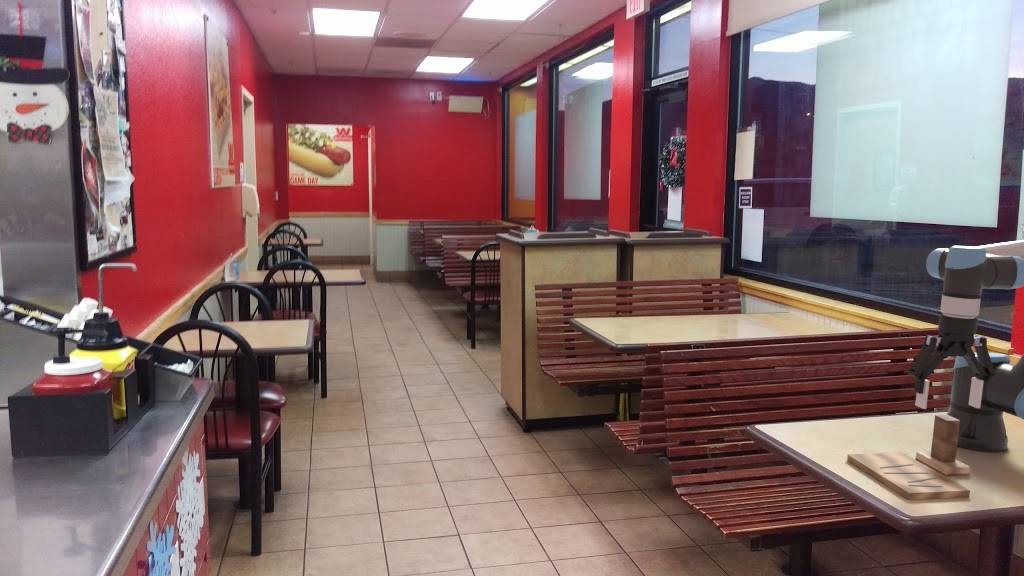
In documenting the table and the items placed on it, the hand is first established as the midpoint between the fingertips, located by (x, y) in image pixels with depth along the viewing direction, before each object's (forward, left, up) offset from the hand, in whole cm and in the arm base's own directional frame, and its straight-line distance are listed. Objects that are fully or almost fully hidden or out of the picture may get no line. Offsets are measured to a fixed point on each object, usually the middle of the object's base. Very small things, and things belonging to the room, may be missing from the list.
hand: (947, 407), depth 176 cm
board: (+13, +5, -14) cm, 20 cm away
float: (0, 0, -15) cm, 15 cm away
